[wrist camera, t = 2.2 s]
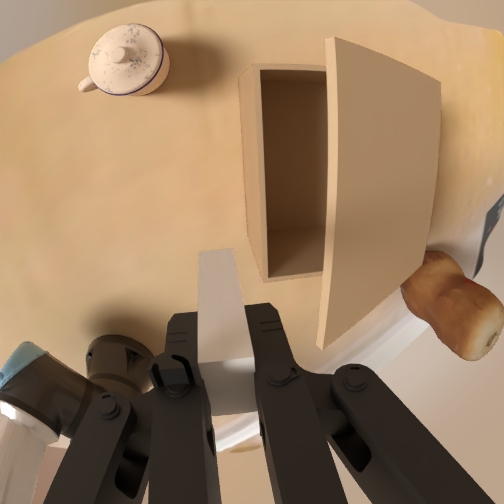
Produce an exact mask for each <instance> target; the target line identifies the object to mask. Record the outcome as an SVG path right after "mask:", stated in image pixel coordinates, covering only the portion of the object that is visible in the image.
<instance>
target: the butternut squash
mask: <svg viewBox="0 0 504 504" xmlns="http://www.w3.org/2000/svg"><path fill="white" fill-rule="evenodd" d="M400 287H401V293H402V295H403V298H404V301H405V303H406V305H407V307H408V309H409V310H410V311H411V312H412V313H413V314H414V315H415V316H416V317H418V318H420V319H422V320H424V321H426V322H427V323H429V324H430V325H431V326H432V328H433V329H434V331H435V333H436V335H437V337H438V338H439V339H440V340H441V341H442V343H444V344H445V345H446V346H448V347H449V348H450V349H451V350H452V351H453V352H454V353H455V354H457V355H458V356H459V357H460V358H462V359H464V360H467V361H476V360H479V359H481V358H482V357H484V356H485V355H486V354H487V353H488V352H489V351H490V350H491V349H492V348H493V346H494V345H495V343H496V342H497V340H498V338H499V336H500V334H501V331H502V328H503V325H504V306H503V304H502V303H501V302H500V301H499V299H498V298H497V297H496V296H495V295H494V294H493V293H491V292H490V290H488V289H487V288H485V287H483V286H481V285H479V284H477V283H475V282H474V281H472V280H470V279H468V278H466V277H465V276H464V273H463V272H462V270H461V268H460V267H459V265H458V264H457V262H456V261H455V260H454V259H453V258H451V257H450V256H449V255H447V254H445V253H443V252H440V251H428V252H425V254H424V259H423V263H422V265H421V266H420V267H419V268H418V269H417V270H416V271H415V272H414V273H413V274H412V275H411V276H410V277H409V278H408V279H407V280H406V281H404V282H403V283H402V284H401V285H400Z"/></svg>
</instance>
